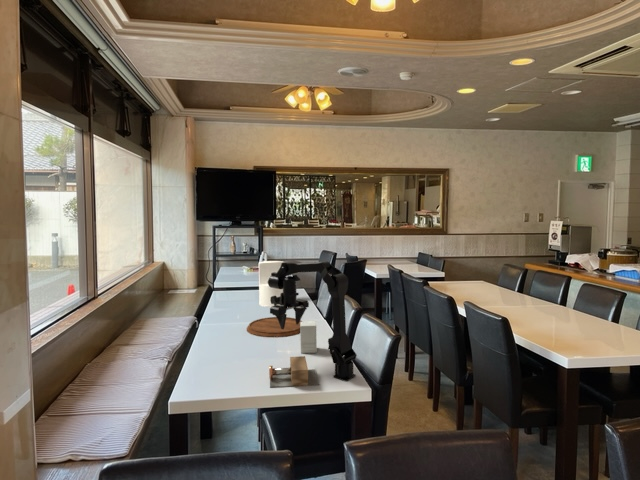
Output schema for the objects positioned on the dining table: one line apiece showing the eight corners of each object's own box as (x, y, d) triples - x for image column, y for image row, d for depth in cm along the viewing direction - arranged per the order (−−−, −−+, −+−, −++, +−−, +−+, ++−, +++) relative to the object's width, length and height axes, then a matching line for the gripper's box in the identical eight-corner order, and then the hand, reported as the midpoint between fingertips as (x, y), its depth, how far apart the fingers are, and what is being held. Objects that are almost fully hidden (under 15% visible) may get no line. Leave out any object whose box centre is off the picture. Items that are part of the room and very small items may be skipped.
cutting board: (292, 340, 207) (292, 335, 207) (235, 334, 217) (235, 329, 217) (314, 323, 237) (314, 319, 237) (263, 318, 247) (263, 314, 247)
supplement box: (316, 347, 196) (316, 321, 195) (316, 353, 189) (316, 325, 188) (300, 347, 196) (300, 321, 195) (300, 353, 188) (300, 325, 187)
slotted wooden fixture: (315, 370, 169) (314, 355, 169) (318, 385, 155) (318, 369, 155) (270, 372, 167) (269, 357, 167) (269, 387, 153) (269, 371, 153)
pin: (295, 374, 163) (295, 362, 163) (296, 379, 159) (296, 367, 158) (269, 375, 162) (269, 364, 162) (269, 380, 158) (269, 368, 157)
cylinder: (256, 302, 286) (255, 261, 284) (280, 299, 293) (279, 260, 291) (263, 308, 271) (263, 265, 268) (289, 305, 278) (288, 263, 275)
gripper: (290, 285, 190) (290, 318, 191) (260, 291, 175) (260, 328, 177) (309, 288, 183) (309, 323, 184) (279, 295, 168) (280, 333, 170)
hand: (290, 326), depth 179 cm, fingers open, 9 cm apart
